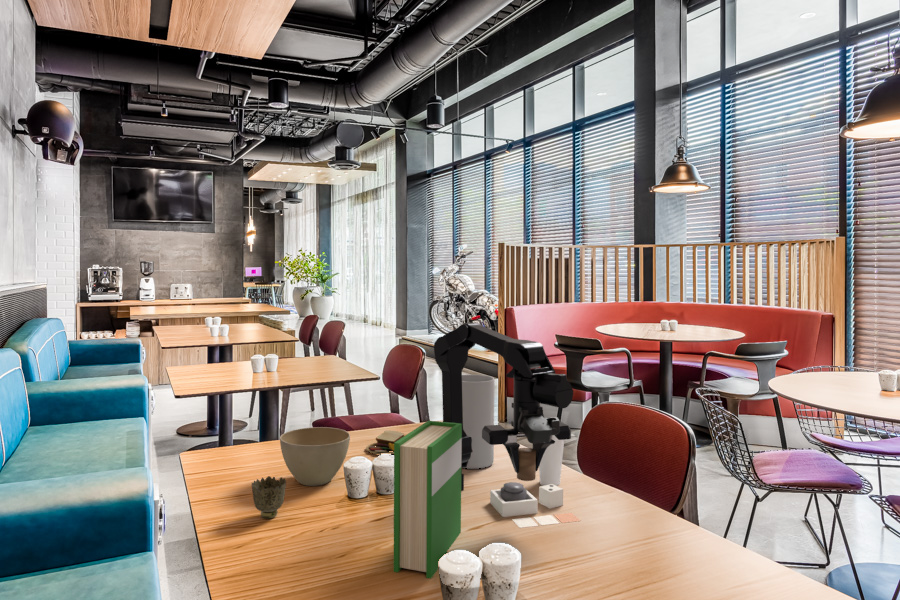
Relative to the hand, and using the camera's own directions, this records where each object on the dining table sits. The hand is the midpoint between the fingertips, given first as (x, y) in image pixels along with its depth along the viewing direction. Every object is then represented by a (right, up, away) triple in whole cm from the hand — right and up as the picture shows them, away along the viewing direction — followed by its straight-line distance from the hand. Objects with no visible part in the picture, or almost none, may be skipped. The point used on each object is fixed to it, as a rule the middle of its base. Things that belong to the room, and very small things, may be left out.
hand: (526, 471), depth 125 cm
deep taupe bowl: (-52, -11, +28) cm, 60 cm away
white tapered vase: (+10, -12, +26) cm, 30 cm away
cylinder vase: (-10, -11, +44) cm, 46 cm away
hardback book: (-21, -13, -12) cm, 27 cm away
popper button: (-2, -11, +9) cm, 14 cm away
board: (+4, -12, +6) cm, 14 cm away
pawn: (0, -1, 0) cm, 1 cm away
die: (+7, -11, +11) cm, 17 cm away
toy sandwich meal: (-37, -10, +57) cm, 68 cm away
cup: (-57, -12, +5) cm, 59 cm away
